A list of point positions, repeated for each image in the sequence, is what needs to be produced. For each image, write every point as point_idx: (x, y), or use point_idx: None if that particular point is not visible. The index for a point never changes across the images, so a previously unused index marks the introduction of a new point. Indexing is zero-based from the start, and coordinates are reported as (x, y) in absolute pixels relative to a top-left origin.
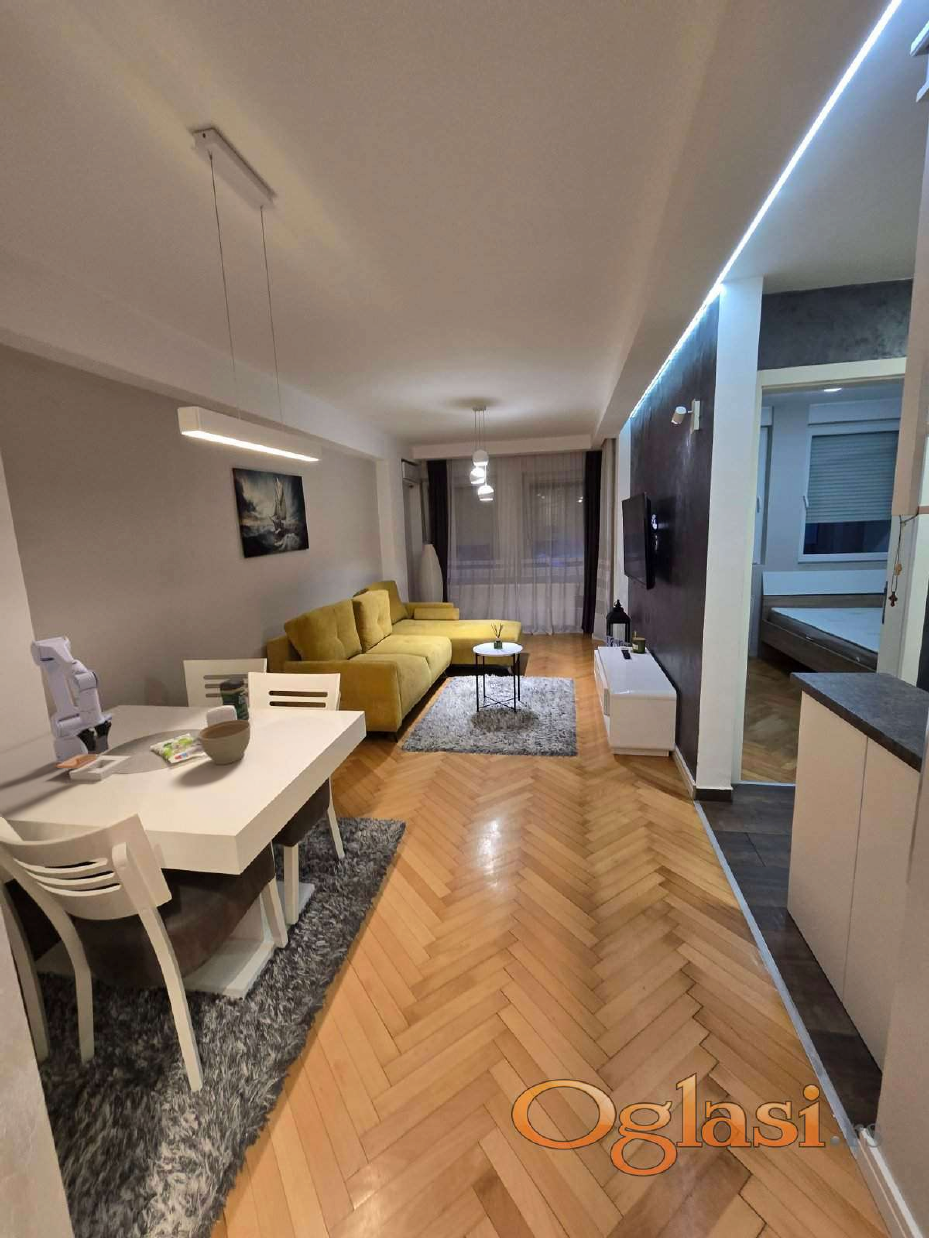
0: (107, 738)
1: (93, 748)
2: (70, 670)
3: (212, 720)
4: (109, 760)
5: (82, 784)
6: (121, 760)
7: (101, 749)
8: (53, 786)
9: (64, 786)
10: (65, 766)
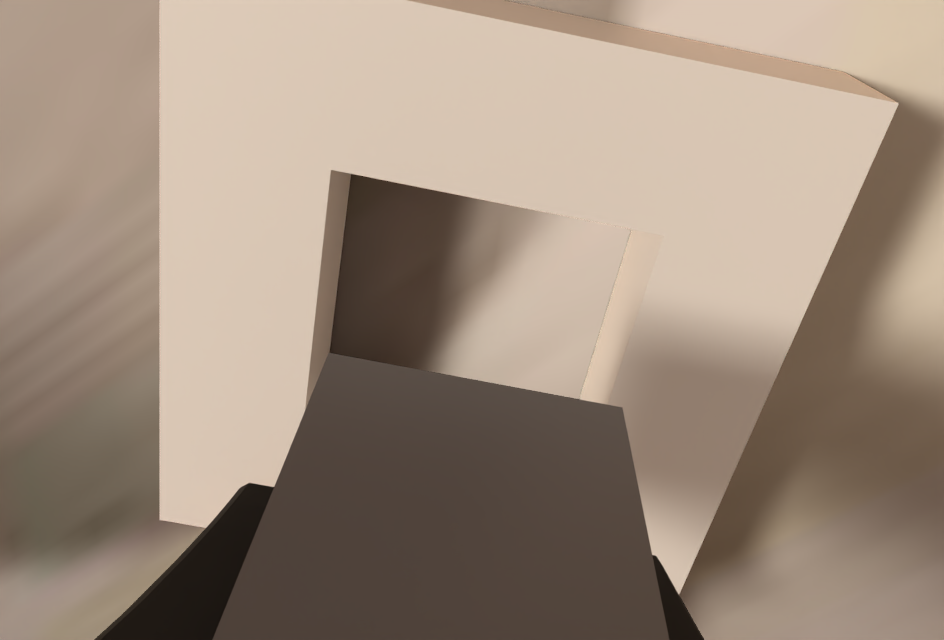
0: (167, 573)
1: (665, 590)
2: None
3: None
4: (319, 301)
5: (894, 292)
6: (362, 33)
7: (527, 436)
8: (813, 596)
9: (865, 484)
10: None
